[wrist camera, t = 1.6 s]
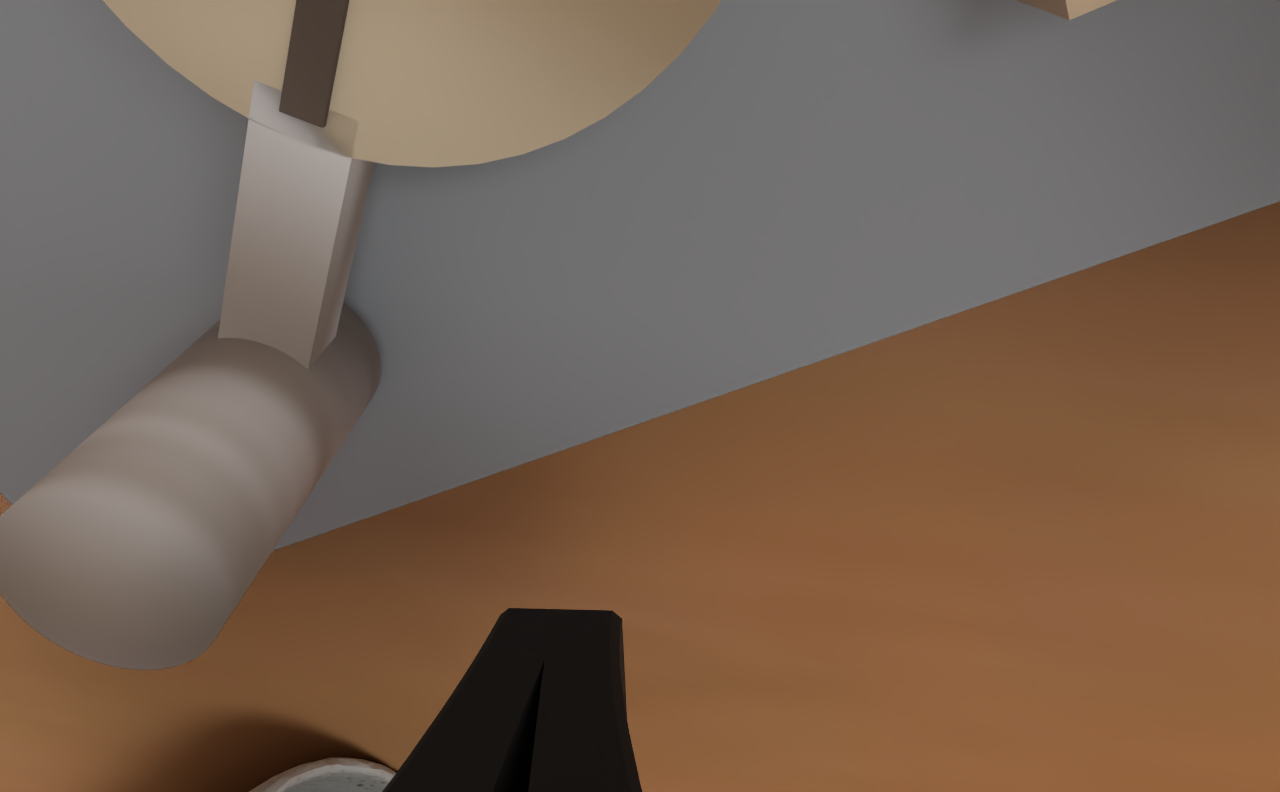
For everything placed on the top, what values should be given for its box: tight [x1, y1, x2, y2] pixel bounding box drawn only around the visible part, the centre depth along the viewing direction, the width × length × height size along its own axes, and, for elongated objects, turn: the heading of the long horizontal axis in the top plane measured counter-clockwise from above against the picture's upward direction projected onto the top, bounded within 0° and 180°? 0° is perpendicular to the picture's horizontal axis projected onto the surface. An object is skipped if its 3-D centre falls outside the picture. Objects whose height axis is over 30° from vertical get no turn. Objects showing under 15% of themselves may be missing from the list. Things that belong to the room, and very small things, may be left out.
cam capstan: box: [0, 0, 721, 670], centre depth 9 cm, size 13×8×5 cm, turn 159°
